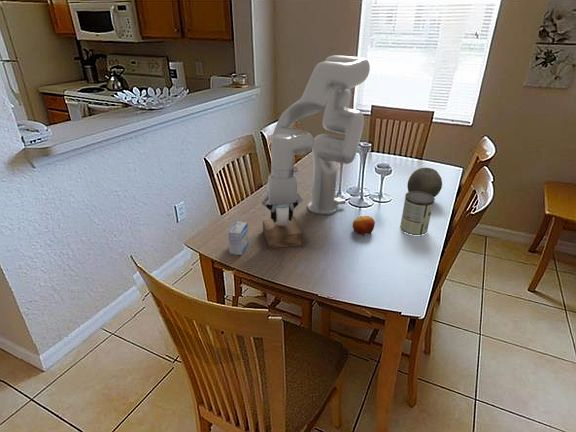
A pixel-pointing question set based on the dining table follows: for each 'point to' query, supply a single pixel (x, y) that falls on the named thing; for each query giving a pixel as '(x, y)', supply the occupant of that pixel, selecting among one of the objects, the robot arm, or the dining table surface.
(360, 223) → the fruit
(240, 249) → the medicine box
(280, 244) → the walnut block
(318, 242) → the dining table surface
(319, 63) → the robot arm
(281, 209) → the pill bottle
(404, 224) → the coffee can
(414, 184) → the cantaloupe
